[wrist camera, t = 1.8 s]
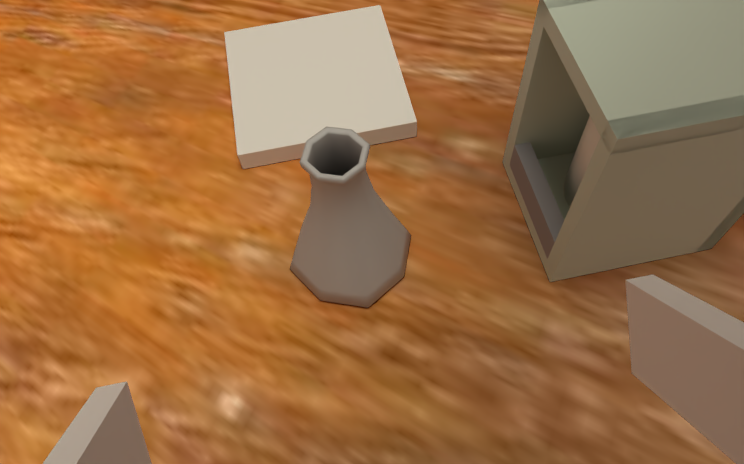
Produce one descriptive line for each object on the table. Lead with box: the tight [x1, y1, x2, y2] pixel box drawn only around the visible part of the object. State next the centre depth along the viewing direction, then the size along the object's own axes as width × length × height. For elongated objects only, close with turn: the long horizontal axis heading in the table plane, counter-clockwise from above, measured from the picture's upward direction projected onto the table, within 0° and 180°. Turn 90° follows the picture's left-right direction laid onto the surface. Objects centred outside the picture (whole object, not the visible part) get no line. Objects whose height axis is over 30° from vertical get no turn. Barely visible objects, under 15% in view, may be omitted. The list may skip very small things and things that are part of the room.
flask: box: [290, 126, 411, 307], centre depth 32 cm, size 7×7×10 cm
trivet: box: [224, 5, 417, 169], centre depth 43 cm, size 12×12×2 cm
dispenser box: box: [503, 0, 744, 282], centre depth 32 cm, size 10×9×13 cm
